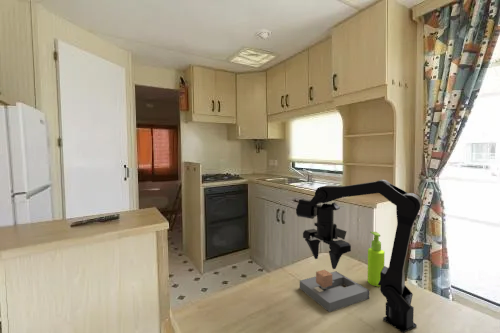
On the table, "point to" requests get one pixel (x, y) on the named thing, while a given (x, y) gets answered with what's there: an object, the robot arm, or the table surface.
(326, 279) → the key peg
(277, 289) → the table surface
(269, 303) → the table surface
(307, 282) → the keyhole plate
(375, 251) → the soap dispenser
